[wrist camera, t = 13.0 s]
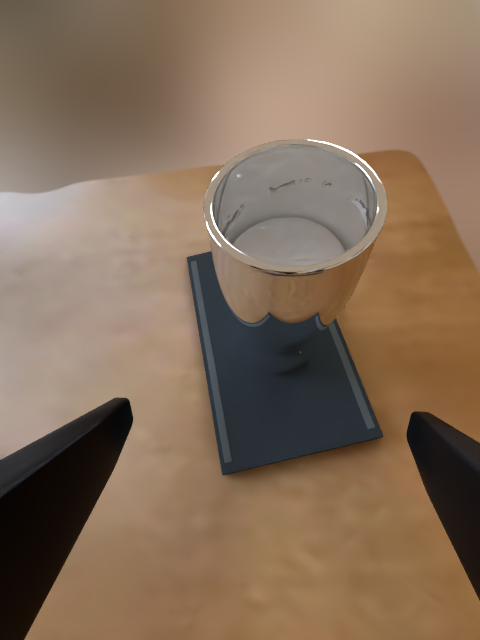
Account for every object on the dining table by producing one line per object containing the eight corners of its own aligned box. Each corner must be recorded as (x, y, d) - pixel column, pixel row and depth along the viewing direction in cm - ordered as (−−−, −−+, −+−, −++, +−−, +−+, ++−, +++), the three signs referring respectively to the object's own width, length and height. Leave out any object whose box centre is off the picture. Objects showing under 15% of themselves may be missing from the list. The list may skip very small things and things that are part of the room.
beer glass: (229, 369, 23) (172, 262, 9) (247, 297, 25) (223, 130, 12) (314, 387, 22) (394, 294, 8) (323, 309, 24) (396, 139, 11)
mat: (381, 437, 20) (384, 436, 20) (223, 474, 20) (222, 475, 20) (299, 233, 29) (300, 229, 28) (187, 259, 28) (186, 256, 28)
